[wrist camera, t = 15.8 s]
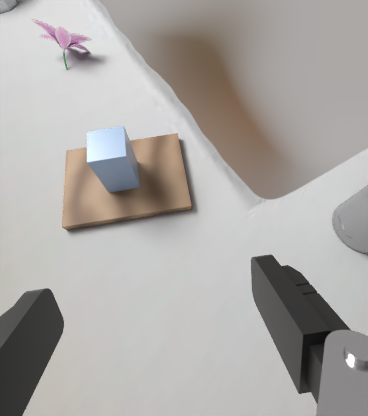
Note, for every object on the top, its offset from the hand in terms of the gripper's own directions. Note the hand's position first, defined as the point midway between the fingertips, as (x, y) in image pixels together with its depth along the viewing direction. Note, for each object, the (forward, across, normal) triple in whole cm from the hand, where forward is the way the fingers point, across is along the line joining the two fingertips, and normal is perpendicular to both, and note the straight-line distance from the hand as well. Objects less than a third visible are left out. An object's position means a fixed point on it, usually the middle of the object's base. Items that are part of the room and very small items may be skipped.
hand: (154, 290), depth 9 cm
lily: (+63, +20, -24) cm, 70 cm away
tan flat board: (+36, +8, +3) cm, 37 cm away
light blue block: (+35, +8, +2) cm, 36 cm away
